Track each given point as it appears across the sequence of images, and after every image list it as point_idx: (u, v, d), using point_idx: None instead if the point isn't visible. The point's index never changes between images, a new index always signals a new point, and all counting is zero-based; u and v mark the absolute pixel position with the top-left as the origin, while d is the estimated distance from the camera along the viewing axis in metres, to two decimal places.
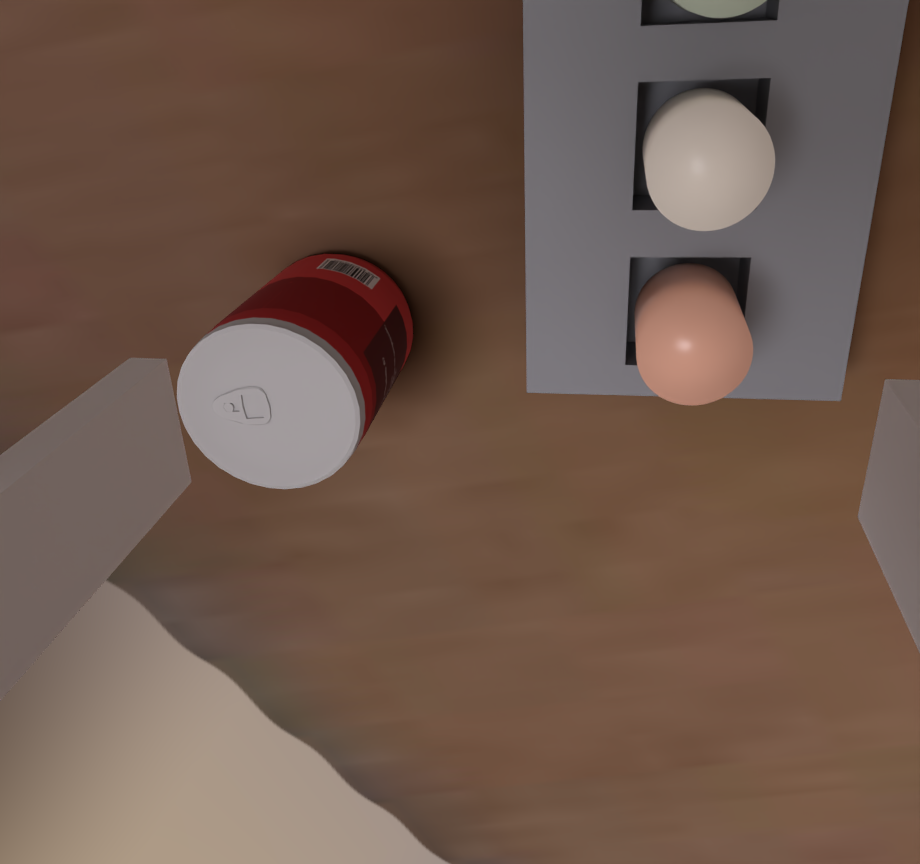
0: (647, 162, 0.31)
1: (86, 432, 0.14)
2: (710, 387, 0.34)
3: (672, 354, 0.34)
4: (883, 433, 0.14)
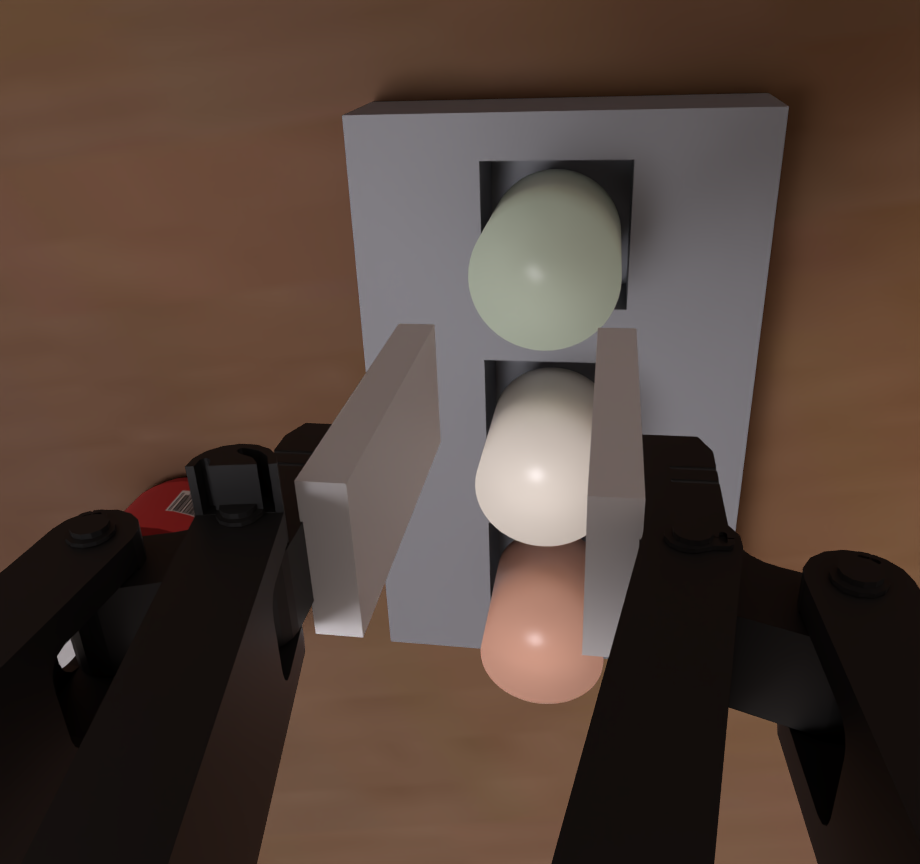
0: (476, 478, 0.28)
1: (403, 386, 0.15)
2: (561, 688, 0.32)
3: (518, 656, 0.31)
4: None
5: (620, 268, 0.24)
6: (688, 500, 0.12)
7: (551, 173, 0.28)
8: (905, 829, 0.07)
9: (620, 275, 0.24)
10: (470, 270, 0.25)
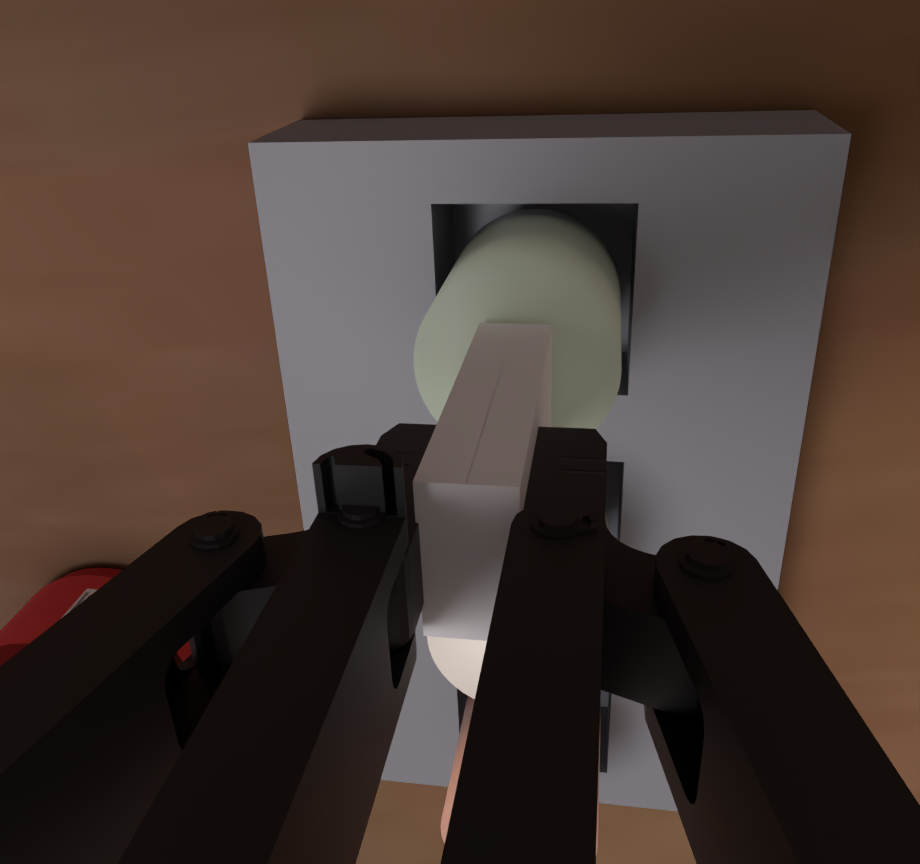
0: None
1: None
2: None
3: None
4: None
5: (619, 356, 0.18)
6: (572, 490, 0.13)
7: (529, 216, 0.21)
8: (760, 802, 0.07)
9: (619, 365, 0.18)
10: (416, 355, 0.18)
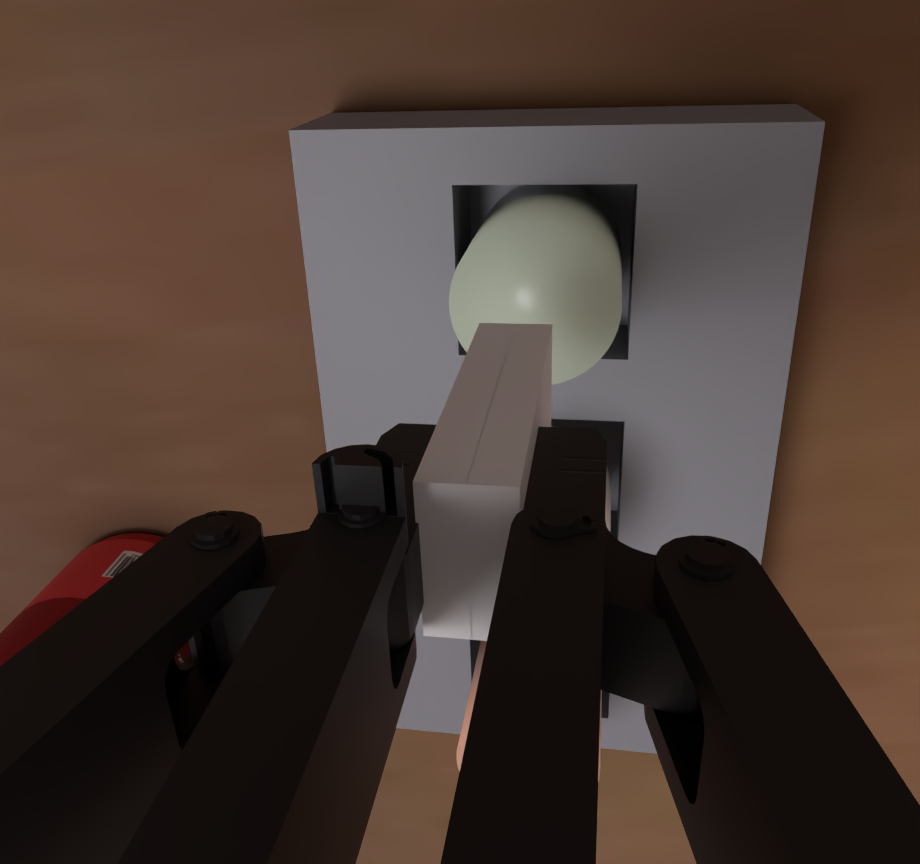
0: None
1: None
2: None
3: None
4: None
5: (620, 295, 0.21)
6: (572, 489, 0.13)
7: (543, 186, 0.25)
8: (760, 802, 0.07)
9: (620, 303, 0.22)
10: (451, 296, 0.22)
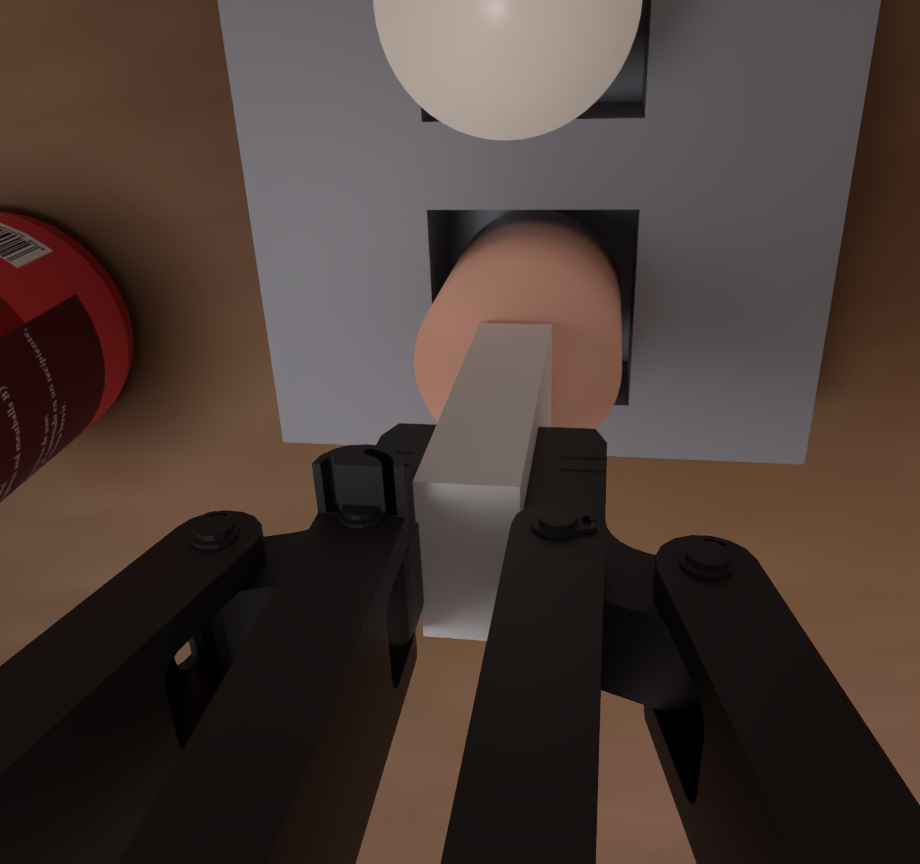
0: None
1: None
2: None
3: None
4: None
5: None
6: (572, 489, 0.13)
7: None
8: (760, 801, 0.07)
9: None
10: None
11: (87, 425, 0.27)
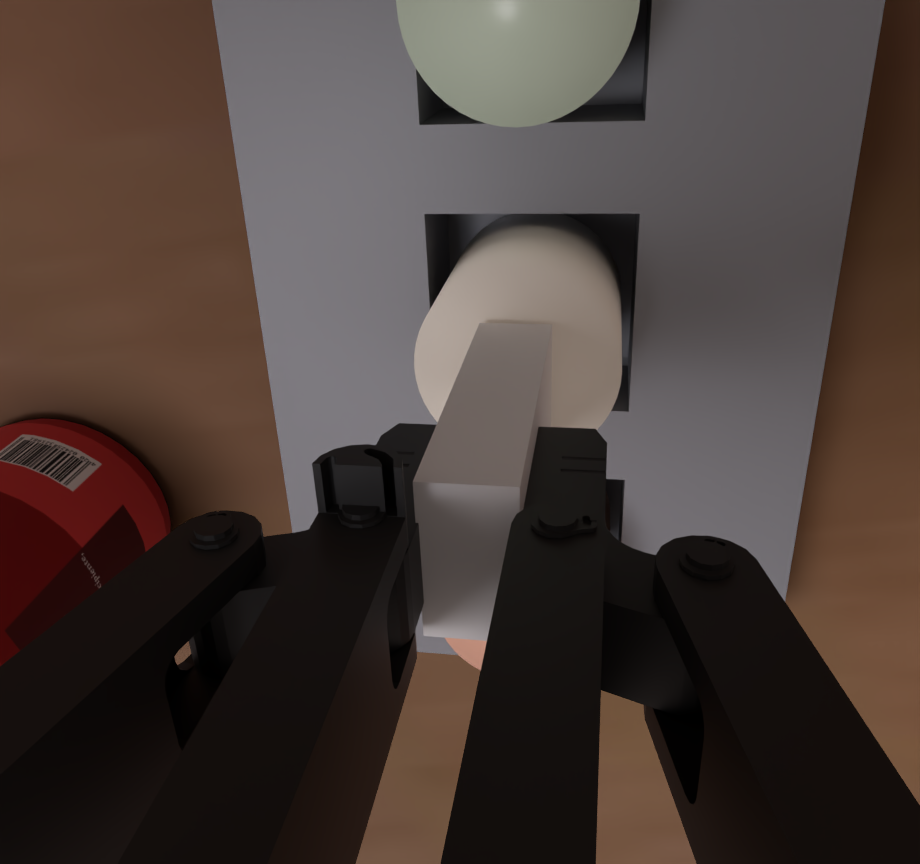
0: (416, 355, 0.18)
1: None
2: None
3: None
4: None
5: None
6: (572, 490, 0.13)
7: None
8: (760, 802, 0.07)
9: None
10: None
11: None
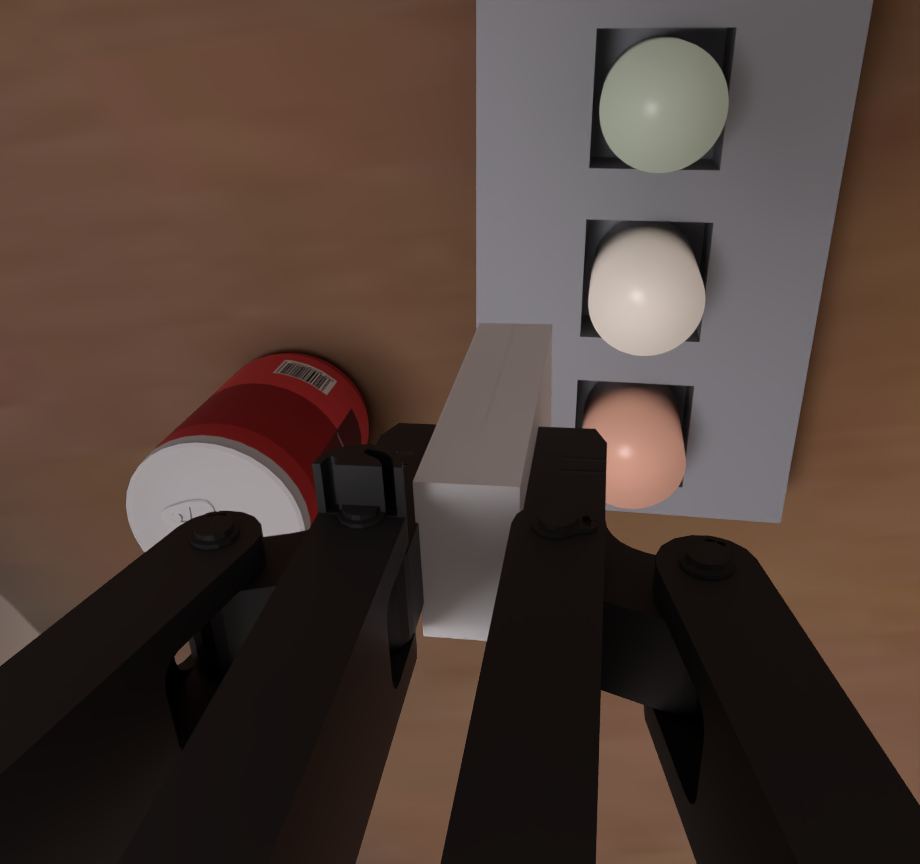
0: (589, 293, 0.33)
1: None
2: (647, 493, 0.37)
3: (611, 462, 0.36)
4: None
5: (727, 98, 0.30)
6: (572, 489, 0.13)
7: (660, 36, 0.33)
8: (760, 802, 0.07)
9: (727, 104, 0.30)
10: (601, 100, 0.30)
11: None
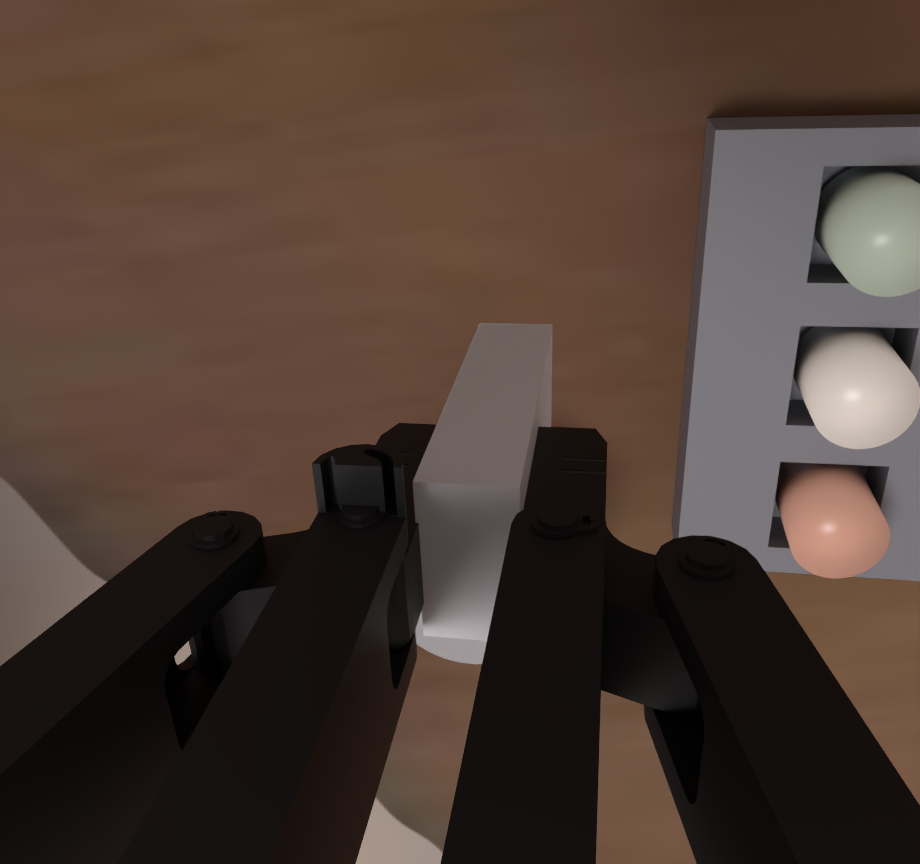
0: (813, 396, 0.38)
1: None
2: (850, 565, 0.41)
3: (820, 539, 0.41)
4: None
5: None
6: (573, 489, 0.13)
7: (875, 167, 0.37)
8: (760, 801, 0.07)
9: None
10: (840, 237, 0.34)
11: None
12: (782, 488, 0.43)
